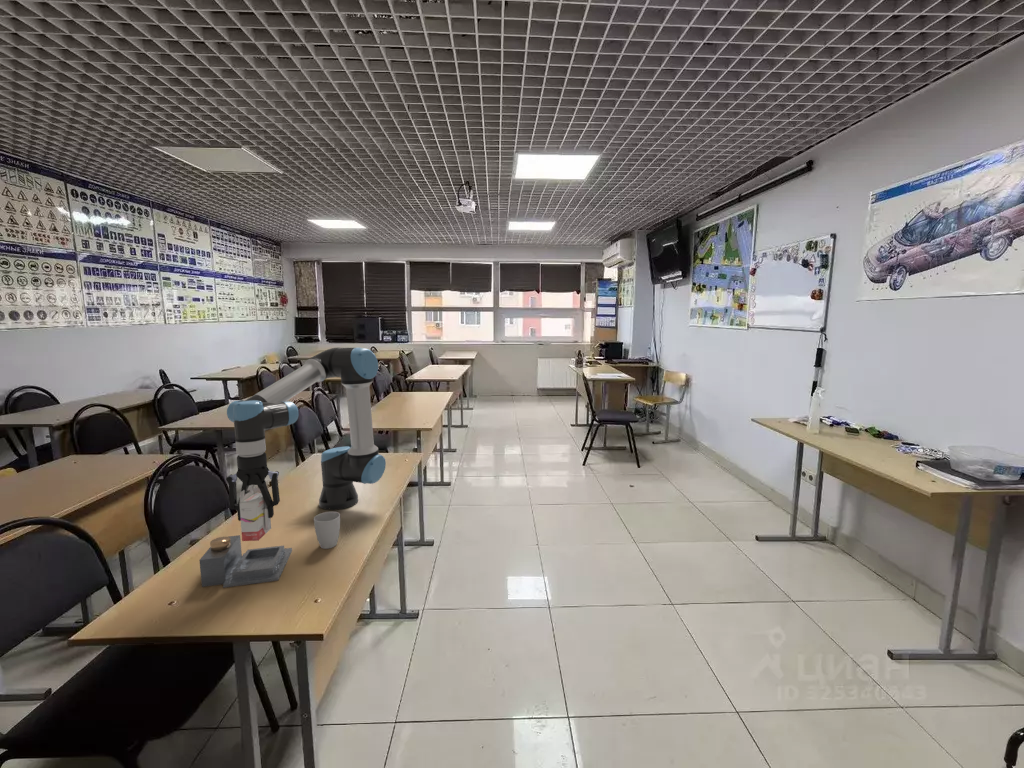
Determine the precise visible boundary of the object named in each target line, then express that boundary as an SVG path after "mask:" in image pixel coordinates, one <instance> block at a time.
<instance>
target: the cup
mask: <svg viewBox="0 0 1024 768" xmlns="http://www.w3.org/2000/svg"><path fill="white" fill-rule="evenodd" d="M313 523H314V525H313V526H314V530H315V531H314V532H315V536H316V539H317V542H318V545H319V546H320V548H321V549H324V550H327V549H331V548H334V547H336V546H337V545H338V544H337V543H338V540H339V537H340V529H341V513H340V512H337V511H325V512H322V513H321V512H320V513H319V514H317V515H315V516H314V517H313Z"/></svg>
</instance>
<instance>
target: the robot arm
mask: <svg viewBox="0 0 1024 768" xmlns="http://www.w3.org/2000/svg"><path fill="white" fill-rule="evenodd" d="M378 371H379V362H378V358H377V356H376V355H375V353H374V352H373V351H372V350H371V349H368V348H364V347H331V348H329V349H326V350H323V351H321V352H319V353H318V354H316V355H313V356H312V357H310V358H308V359H306V360H305V361H304V364H303V365H302V366H299V367H298V368H297V369H295V370H294V371H292V372H290V373H289V374H287V375H285V376H284V377H282V378H280V379H278V380H277V381H275V382H274V383H272V384H270V385H269V386H267V387H265V388H264V389H262V390H260V391H259V392H258V391H257V393H255V394H254V395H252V396H251V397H249V398H246V399H245V400H243V399H240V400H234V401H232V402H231V403H229V404H228V406H227V408H226V415H227V418H228V419H229V421H230V422H232V423H233V427H234V436H235V437H234V438H235V453H236V455H237V457H236V465H237V471H236V473H233V474H229V475H228V476H227V477H226V478H225V481H226V482H227V484H228V499H229V500H228V503H229V505H228V506H229V509H230V510H236V512H237V520H238V521H239V522H241V518H240V504H239V503H240V497H239V499H238V498H237V497H238V495H237V492H238V491H237V480H240V481H241V482H242V484H241V490H240V492H241V491H243V490H245V495H246V494H247V493H249V491H248V490H247V489H248V487H249V486H251V485H254V486H257V488H258V489H259V490H260V493H262V496H263V498H264V501H265V503H266V508H265V509H264V512H265V526H266V530H269V528H270V527H271V528H272V521H271V520H272V519H273V517H274V515H275V514H274V513H275V512H274V506H275V507H276V506H278V505H279V503H280V502H281V498H280V489H279V480H278V478H279V476H280V472H279V471H277V470H276V471H273V470H270V469H269V467H268V461H267V460H268V458H267V453H266V450H267V447H266V445H267V444H266V431H268V430H273V429H277V428H282V427H288V426H290V425H293V424H295V423H296V422H297V421H298V419H299V413H300V412H299V408H298V406H297V405H296V404H295V403H294V402H293V401H290V400H291V399H292V398H294V397H295V396H297V395H298V394H300V393H301V392H304V391H305V390H306V389H307V388H310V387H311V386H312V385H314V384H316V383H321V382H324V381H325V380H326V379H327V380H328V379H332V378H340V383H341V385H342V386H344V388H345V390H346V392H345V393H346V402H347V403H346V404H347V413H348V424H349V435H350V446H349V445H347V446H337V447H333V448H330V449H329V448H328V449H327V450H324V451H323V452H322V453H321V455H320V456H321V457H320V465H321V466H320V467H321V481H322V487H321V492H320V496H319V499H318V506H319V508H321V509H322V508H323V510H329V511H333V510H335V509H337V510H343V509H346V508H350V507H352V505H353V506H354V505H356V504H357V503H358V502H357V501H359V495H358V492H357V490H356V487H355V484H354V483H360V484H362V485H363V484H364V485H365V484H366V485H367V484H372V485H373V484H375V483H377V482H379V480H381V479H382V477H383V474H385V471H386V463H387V462H386V458H385V457H384V455H383V454H379V447H378V446H377V445H375V442H374V429H373V428H374V427H373V416H372V415H373V414H372V405H371V392H370V385H372V383H373V382H374V378H375V377H376V376H377V374H378ZM267 477H269V479H270V484H271V485H270V486H271V492H272V493H271V494H272V496H271V494H270V490H269V489H268V486H267V483H266V478H267ZM246 491H247V492H246ZM245 495H244V496H245ZM355 503H356V504H355ZM335 511H336V510H335ZM270 518H271V519H270ZM269 531H270V530H269Z"/></svg>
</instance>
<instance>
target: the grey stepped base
mask: <svg viewBox="0 0 1024 768" xmlns="http://www.w3.org/2000/svg"><path fill="white" fill-rule="evenodd" d="M241 542H242V538H241V534H240V535H239V534H238V535H230V536H220V537H216V538H214V539H212V540H211V541H210V542H209V545H210V547H209V548H208V549H207V551H205V553H204V554H203V555H202V556H201V557H200V558H199V570H200V572H199V573H200V581H201V582H200V583H201V588H204V587H205V588H206V587H211V586H218V585H223V586H222V588H224V589H225V588H231V587H238V586H246V585H254V584H255V585H256V584H261V583H269V582H276V581H277V582H278V581H279V580H280V578H281V575H282V573H283V571H284V569H285V567H286V565H287V563H288V560H289V558H290V556H291V554H292V552H293V547H287V548H285V545H278V546H269V547H268V546H267V547H259V548H250V549H247V550H246V551H245V552H244V553H243V554H242V543H241Z"/></svg>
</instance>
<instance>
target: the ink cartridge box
mask: <svg viewBox="0 0 1024 768" xmlns="http://www.w3.org/2000/svg"><path fill="white" fill-rule="evenodd" d="M247 490H248V492H247V491H246V492H247V494H246V495H245V490H243V491H241V490H240V492H239V498H240V503H239V504H240V518H241V521H240V527H241V529H240V530H241V542H253V541H254V542H255V541H256V542H257V541H260V540H261V539H262V538H263V537H264V536H265V535H266V534H267V533H268V532H270V531H271V529H272V526H271V527H270V528H269V530H266V526H265V512H264V509H265V508H266V503H265V501H264V498H263V496H262V493H261V492H255V485H250V486H249V487H248V489H247ZM244 495H245V496H244ZM270 519H271V520H272V518H270Z"/></svg>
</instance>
